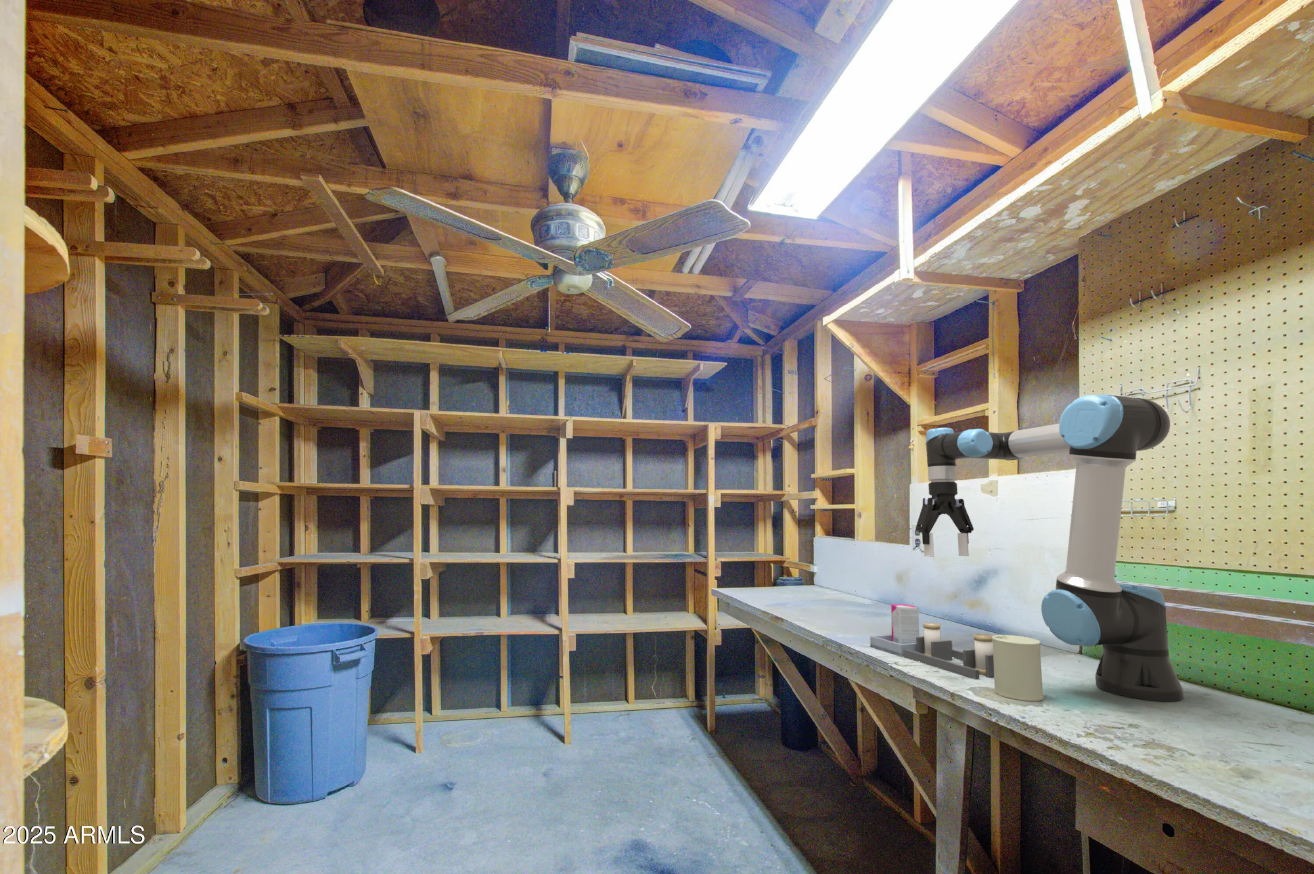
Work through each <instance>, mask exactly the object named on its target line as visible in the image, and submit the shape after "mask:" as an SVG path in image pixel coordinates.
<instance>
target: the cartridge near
mask: <svg viewBox="0 0 1314 874" xmlns="http://www.w3.org/2000/svg"><path fill="white" fill-rule="evenodd" d="M992 636H993V635H992V634H987V633H979V632H978V633H973V640H974V649H975V664H976V667H975V669H977V670H979V676H986V661H985V655H991V654H993V643H992Z"/></svg>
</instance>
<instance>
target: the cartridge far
mask: <svg viewBox="0 0 1314 874" xmlns="http://www.w3.org/2000/svg"><path fill="white" fill-rule="evenodd" d="M922 627H923V636H924V648H925V652H924V654H926V655H929V656H931V641H942V640H941V623H939V622H935V621H924V622H922Z"/></svg>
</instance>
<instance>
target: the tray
mask: <svg viewBox="0 0 1314 874" xmlns="http://www.w3.org/2000/svg"><path fill="white" fill-rule="evenodd" d="M869 637H870V639H869V640H870V641H869V643H870V644H869V645H870V647H869V648H872V649H876V650H879V651H882V652H885V653H888V654H892V655H895V656H897V657H902V658H903V657H904V649H909V650H912V651H915V652H916V643H910V644H899V643H895V642H892V634H884V635H883V634H881V635H871V636H870V635H869ZM919 637H921V636H920V635H919Z"/></svg>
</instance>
